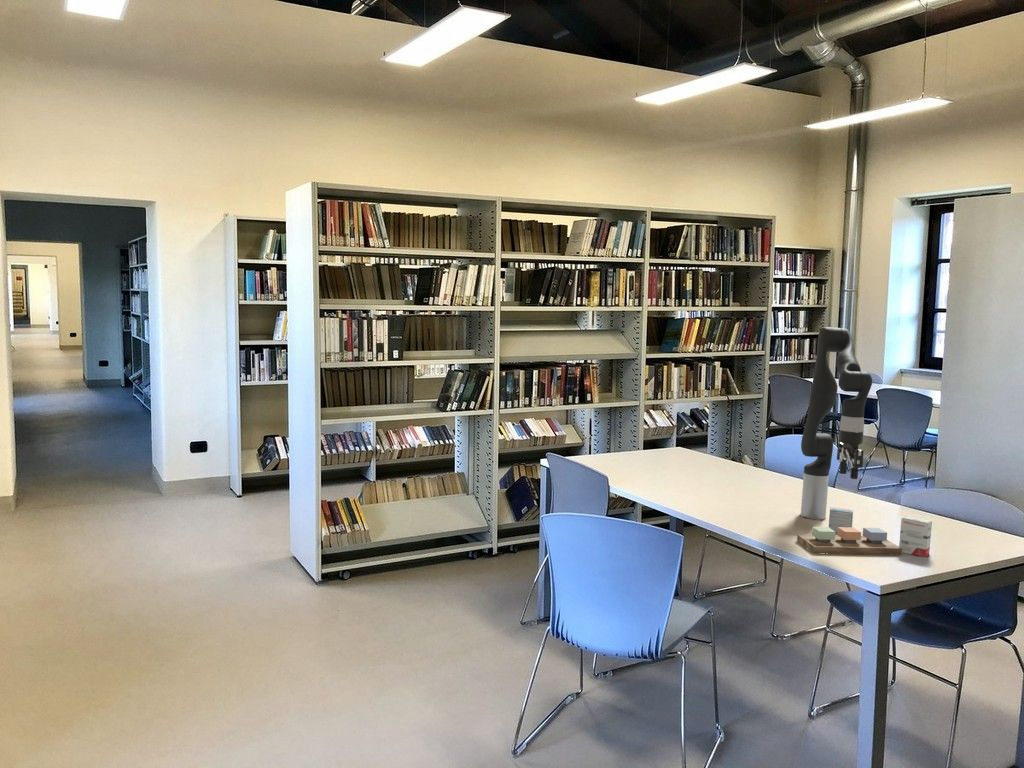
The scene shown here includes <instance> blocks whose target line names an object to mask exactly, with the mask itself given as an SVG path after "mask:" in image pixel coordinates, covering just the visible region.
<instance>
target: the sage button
mask: <svg viewBox="0 0 1024 768" xmlns="http://www.w3.org/2000/svg"><path fill="white" fill-rule="evenodd" d="M811 535H813V536H814V537H816V538H817V539H821V540H835V535H836V533H835V531H834V530H832V529H830V528H829V526H812V527H811Z"/></svg>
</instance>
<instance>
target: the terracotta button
mask: <svg viewBox="0 0 1024 768" xmlns="http://www.w3.org/2000/svg"><path fill="white" fill-rule="evenodd" d="M836 535H838V536H839V537H841V538H842V539H844V540H861V536H862V531H860V530H859V529H857V528H856V527H854V526H852V527H838V530H837V533H836Z"/></svg>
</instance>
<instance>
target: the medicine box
mask: <svg viewBox="0 0 1024 768" xmlns="http://www.w3.org/2000/svg"><path fill="white" fill-rule="evenodd" d="M853 515H854V510H853V509H850V508H841V507H833V506H831V507H830V508H829V516H828V527H829V528H830V529H832V530H834V531H835V534H837V530H838V527H853V522H854V521H853V520H854V516H853Z"/></svg>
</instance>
